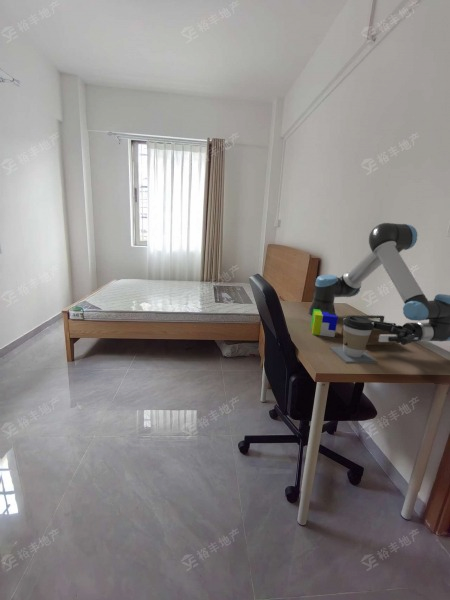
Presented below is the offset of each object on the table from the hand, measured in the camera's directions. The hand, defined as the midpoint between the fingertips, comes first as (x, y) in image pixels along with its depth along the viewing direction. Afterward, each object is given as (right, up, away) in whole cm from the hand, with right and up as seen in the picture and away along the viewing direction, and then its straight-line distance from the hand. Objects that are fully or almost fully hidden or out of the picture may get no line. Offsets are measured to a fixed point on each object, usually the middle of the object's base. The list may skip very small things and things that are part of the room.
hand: (368, 331), depth 110 cm
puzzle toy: (-10, -3, +26) cm, 28 cm away
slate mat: (-6, -10, +2) cm, 12 cm away
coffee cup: (-6, -9, +2) cm, 11 cm away
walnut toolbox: (+9, -6, +20) cm, 23 cm away
